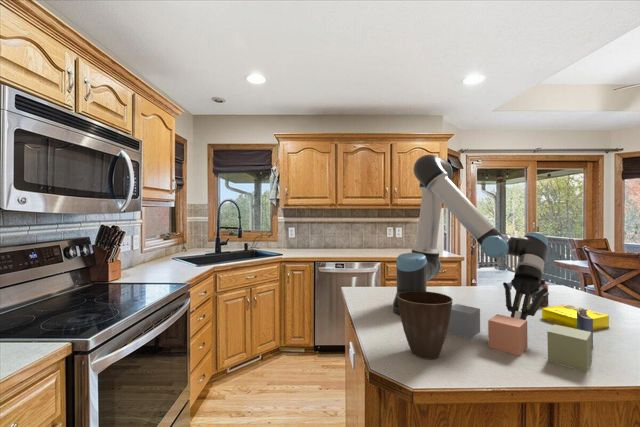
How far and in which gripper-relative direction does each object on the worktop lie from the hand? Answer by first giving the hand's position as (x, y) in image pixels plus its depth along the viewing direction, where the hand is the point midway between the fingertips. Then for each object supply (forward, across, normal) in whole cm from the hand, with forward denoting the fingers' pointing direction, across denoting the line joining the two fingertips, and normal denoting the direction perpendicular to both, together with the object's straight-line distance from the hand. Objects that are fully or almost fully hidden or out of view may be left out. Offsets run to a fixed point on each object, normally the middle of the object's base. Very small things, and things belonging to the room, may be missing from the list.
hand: (515, 331), depth 93 cm
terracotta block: (+6, 0, +1) cm, 6 cm away
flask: (-8, -14, -13) cm, 21 cm away
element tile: (-23, -9, -29) cm, 38 cm away
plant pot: (+21, +15, +17) cm, 31 cm away
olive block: (+5, -14, 0) cm, 14 cm away
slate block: (+4, +15, -1) cm, 15 cm away
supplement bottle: (-36, +5, -42) cm, 55 cm away
